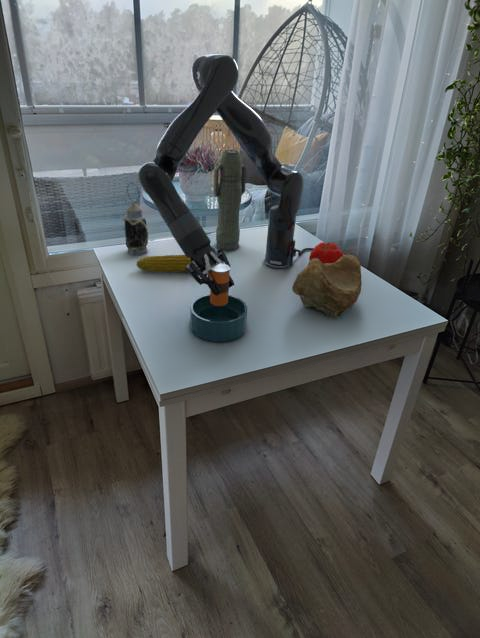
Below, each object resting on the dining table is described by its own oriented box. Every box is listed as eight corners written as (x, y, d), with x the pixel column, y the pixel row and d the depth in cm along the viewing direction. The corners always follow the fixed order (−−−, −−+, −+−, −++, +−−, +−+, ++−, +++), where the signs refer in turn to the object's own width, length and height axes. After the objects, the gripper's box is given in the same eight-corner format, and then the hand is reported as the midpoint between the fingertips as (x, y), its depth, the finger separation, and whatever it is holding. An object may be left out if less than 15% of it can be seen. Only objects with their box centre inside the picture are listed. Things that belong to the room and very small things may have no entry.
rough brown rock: (316, 332, 124) (329, 287, 116) (282, 301, 135) (291, 258, 126) (374, 315, 136) (390, 272, 127) (338, 288, 146) (350, 247, 138)
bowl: (237, 310, 130) (238, 291, 127) (252, 339, 118) (254, 319, 115) (186, 316, 126) (186, 296, 123) (196, 346, 114) (196, 325, 111)
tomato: (307, 262, 163) (310, 238, 158) (340, 265, 162) (344, 241, 157) (308, 274, 154) (311, 250, 149) (343, 278, 153) (347, 253, 148)
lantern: (121, 250, 162) (115, 181, 149) (139, 245, 167) (135, 178, 154) (135, 258, 157) (130, 187, 144) (154, 252, 162) (150, 183, 149)
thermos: (246, 247, 171) (252, 152, 152) (220, 253, 165) (224, 155, 147) (233, 239, 177) (238, 147, 159) (208, 244, 171) (210, 149, 153)
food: (199, 267, 154) (199, 251, 151) (200, 274, 149) (200, 258, 146) (137, 267, 151) (136, 251, 148) (136, 275, 146) (135, 258, 143)
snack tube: (225, 296, 121) (227, 262, 115) (230, 305, 117) (232, 271, 111) (207, 297, 119) (208, 264, 114) (211, 307, 115) (212, 272, 110)
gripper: (178, 235, 106) (217, 294, 107) (214, 220, 116) (249, 274, 117) (163, 249, 111) (200, 306, 112) (198, 234, 122) (232, 286, 123)
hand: (225, 289), depth 115 cm, fingers closed on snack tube, 5 cm apart
